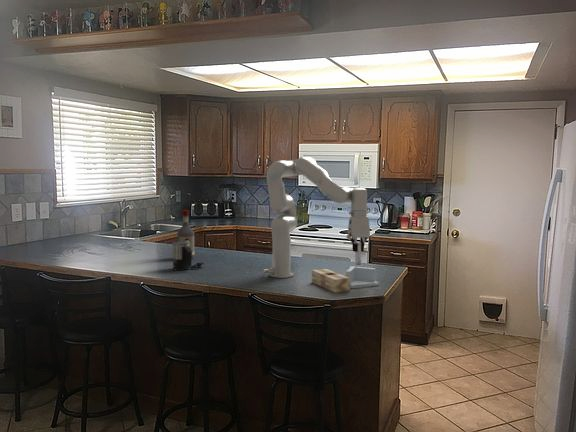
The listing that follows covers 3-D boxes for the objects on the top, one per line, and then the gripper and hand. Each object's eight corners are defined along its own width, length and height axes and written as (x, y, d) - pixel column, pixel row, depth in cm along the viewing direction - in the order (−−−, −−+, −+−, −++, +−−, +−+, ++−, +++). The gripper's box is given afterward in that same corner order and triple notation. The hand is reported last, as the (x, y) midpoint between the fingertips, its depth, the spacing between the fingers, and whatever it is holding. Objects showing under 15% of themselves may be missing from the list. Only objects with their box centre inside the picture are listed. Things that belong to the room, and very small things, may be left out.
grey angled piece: (350, 288, 225) (351, 273, 224) (336, 282, 236) (336, 267, 236) (380, 285, 232) (380, 270, 231) (365, 279, 244) (365, 265, 243)
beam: (334, 292, 217) (335, 279, 217) (312, 282, 237) (312, 270, 237) (349, 290, 221) (349, 278, 220) (326, 280, 241) (326, 268, 240)
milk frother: (168, 269, 263) (168, 243, 261) (187, 264, 277) (187, 239, 275) (189, 272, 256) (188, 245, 255) (207, 267, 270) (207, 241, 268)
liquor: (177, 258, 297) (176, 209, 294) (191, 257, 301) (191, 209, 298) (180, 260, 289) (179, 211, 285) (195, 259, 292) (194, 210, 289)
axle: (357, 265, 232) (357, 242, 231) (353, 264, 235) (354, 241, 234) (362, 264, 233) (362, 242, 232) (358, 263, 236) (359, 241, 235)
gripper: (348, 215, 225) (348, 253, 226) (377, 213, 232) (376, 251, 233) (340, 213, 231) (339, 251, 233) (368, 212, 238) (367, 248, 240)
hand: (358, 250), depth 233 cm, fingers closed on axle, 3 cm apart
